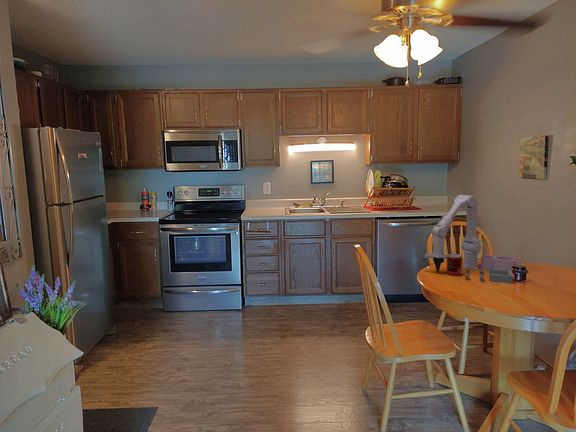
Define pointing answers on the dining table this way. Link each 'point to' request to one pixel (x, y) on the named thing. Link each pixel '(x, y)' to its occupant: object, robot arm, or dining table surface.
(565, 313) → the dining table surface
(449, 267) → the canned food
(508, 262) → the clip
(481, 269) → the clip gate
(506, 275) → the end cradle
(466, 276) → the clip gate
